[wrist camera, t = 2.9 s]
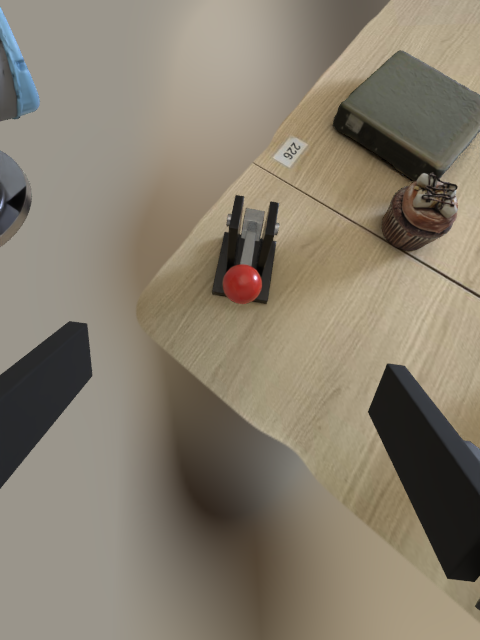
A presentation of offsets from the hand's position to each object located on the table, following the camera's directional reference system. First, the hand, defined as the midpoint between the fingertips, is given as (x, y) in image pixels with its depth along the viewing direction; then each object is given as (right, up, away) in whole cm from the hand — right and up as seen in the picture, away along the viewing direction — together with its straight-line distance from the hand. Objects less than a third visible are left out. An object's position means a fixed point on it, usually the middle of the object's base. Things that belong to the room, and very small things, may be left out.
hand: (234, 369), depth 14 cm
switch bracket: (+1, +10, +32) cm, 34 cm away
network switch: (+31, +38, +44) cm, 66 cm away
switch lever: (+1, +8, +19) cm, 21 cm away
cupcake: (+27, +17, +37) cm, 49 cm away
